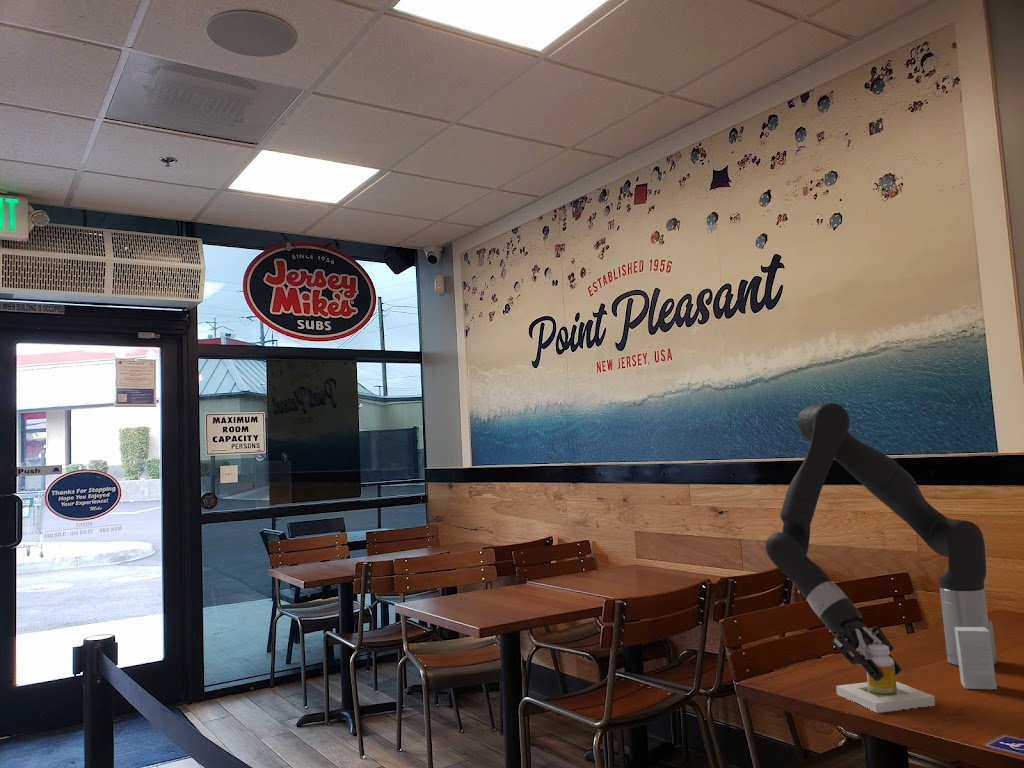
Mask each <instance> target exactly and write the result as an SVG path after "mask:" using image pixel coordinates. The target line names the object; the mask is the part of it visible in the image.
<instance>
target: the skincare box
mask: <svg viewBox="0 0 1024 768" xmlns="http://www.w3.org/2000/svg"><path fill="white" fill-rule="evenodd" d="M954 629H955V637H956V645H957V653H958V662H959V665H958V668H959V676H960V677H959V678H960V683H961V685H962V686H963V688H964V689H966V690H993V689H995V690H998V687H997V679H996V672H995V664H994V662H993V654H992V646H991V639H990V631H988V630H987V629H986V628H985V627H954ZM995 690H994V691H995Z"/></svg>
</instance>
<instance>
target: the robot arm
mask: <svg viewBox="0 0 1024 768" xmlns="http://www.w3.org/2000/svg"><path fill="white" fill-rule="evenodd" d="M850 422H851V421H850V416H849V413H848V411H847V410H846V409H845V407H843V406H842V405H840V404H839V403H835V402H827V403H826V402H824V403H818V404H812V405H809V406H807V407H804V409H802V410H801V411H800V413H799V414H798V417H797V425H798V426H797V427H798V429H799V431H800V433H801V434H802V436H803V437H804V438H805V439H806V440H807V441H809V442H810V444H809V448H808V451H807V454H806V456H805V458H804V460H803V462H802V463H801V465H800V467H799V469H798V470H797V472H796V473H795V475H794V477H793V478H792V480H791V481H790V484H789V486H788V488H787V491H786V493H785V496H784V497H785V498H784V500H783V504H782V506H781V507H782V508H781V511H780V519H781V521H782V523H783V526H782V532H775V533H772V534H771V535H770V536H768V538H767V540H766V542H765V550H766V551H765V552H766V554H767V557H768V558H769V559H770V561H771V562H772V563H773V564H774V565H775V566H776V567H777V568H778V569H779V570H780V571H781V572H782V573H783V574H784V575H785V577H787V578H788V579H789V580H790V581H791V582H792V583H793V584H794V586H795V587H796V589H797V590H798V591H799V592H800V594H801V595H802V596H803V598H804V599H805V600H806V601H807V602H808V604H809V607H810V608H811V609H812V611H813V612H814V613H815V615H817V617H818V618H819V619H820V620H821V622H822V623H823V624H824V626H825V627H826V628H827V629H828V631H829V632H830V634H832V636H835V638H834V639H832V641H831V644H832V645H833V647H834V648H836V649H837V650H838V652H840V654H842V656H844V658H845V659H846V660H847V661H848V662H849V663H851V665H853V666H855V665H858V666H860V667H863V669H864V670H865V672H866V671H867V672H868V673H869V675H870V676H871V677H872V678H873V679H874V680H875V681H879V680H880V679H881V678H882V677H883V676H884V675H883V673H882V671H881V670H880V669H879V668H878V667H877V665H876V664H875V663H874V662H873V660H872V659H871V660H869V659H870V657H869V655H870V654H869V652H868V645H872V644H880V645H886V646H888V647H889V652H890V654H889V657H891V658H892V659H893V660H894V665H895V676H898V675H899V674H900V673H901V672H902V671H903V670H902V667H901V666H900V665H899V663H898V662H897V661H896V660H895V658H894V657H893V656H892V655H891V652H893V650H894V646H893V645H892V643H891V642H890V641H889V639H888V637H886V634H885V633H884V632H883V630H882V629H881V627H880V626H878V625H875V626H874V627H869V626H868V625H867V624H866V623H864V622H863V620H862V618H863V615H862V613H861V612H860V611H859V609H858V608H857V607H856V606H855V605H854V603H853V602H852V601H851V600H850V598H849V597H848V596H847V595H846V594H845V592H844V591H843V590H841V588H840V587H839V586H837V584H835V583H834V581H833V580H832V579H831V578H830V576H829V575H827V573H826V572H825V571H824V570H823V568H822V567H820V566H819V565H818V564H817V563H815V562H814V561H812V560H811V558H809V556H807V554H808V551H809V547H810V546H809V545H810V537H811V536H810V535H811V524H812V520H813V518H814V514H815V512H816V509H817V505H818V502H819V498H820V494H821V492H822V489H823V487H824V483H825V480H826V478H827V476H828V474H829V471H830V469H831V466H832V465H833V462H834V460H835V461H837V462H838V463H839V464H840V465H841V466H842V467H843V468H844V469H845V470H846V471H847V472H848V473H849V474H850V475H851V476H852V477H853V478H855V480H857V482H859V483H860V484H861V485H862V486H863V487H864V488H865V489H866V490H868V491H869V492H870V493H871V494H872V495H873V496H874V497H875V498H877V499H878V500H879V501H880V502H881V503H883V504H884V505H885V506H886V507H888V509H890V510H891V511H892V512H893V513H894V514H896V515H897V516H898V517H899V518H900V519H902V521H904V522H905V523H906V524H907V525H909V527H911V529H912V530H913V531H914V532H915V533H916V534H917V535H918V536H919V538H921V540H922V541H924V542H925V545H927V546H928V547H929V548H930V549H931V550H932V551H933V552H934V553H936V554H937V555H940V556H942V557H945V558H947V564H948V565H947V567H948V569H947V570H946V571H945V572H943V573H942V574H940V575H939V577H938V583H939V584H938V586H939V593H940V602H941V611H942V621H943V631H944V637H945V638H944V641H945V649H946V656H947V657H946V659H947V662H948V664H952V665H954V666H959V662H958V653H957V645H956V637H955V629H954V627H985V628H986V629H987V630H988V631H990V639H991V646H992V654H993V662H994V665H995V664H997V662H998V660H997V653H996V645H995V637H994V629H993V622H992V621H991V620H989V618H988V617H989V616H988V609H987V602H986V601H987V600H986V593H985V579H986V576H987V560H986V544H985V539H984V535H983V532H982V531H981V528H980V527H979V526H978V525H977V524H975V523H974V522H972V521H971V520H964V519H954V518H949V517H947V516H946V515H944V514H943V513H941V512H940V511H938V510H937V509H936V508H934V507H933V506H932V505H931V504H930V503H929V502H928V501H927V499H926V498H925V497H924V495H923V494H922V492H921V490H920V486H919V484H917V482H916V480H915V479H914V477H913V476H912V475H911V474H910V473H909V472H908V471H907V470H906V469H904V468H903V467H902V466H901V465H900V464H899V463H898V462H896V461H895V460H894V459H892V457H890V456H888V455H887V454H885V453H883V452H882V451H879V450H878V449H876V448H873V447H872V446H869V445H868V444H867V443H864V442H862V441H860V440H859V439H857V438H856V437H855V436H853V434H851V433H850V432H849V430H850V429H849V428H850ZM849 652H850V653H851V654H850V653H849ZM867 672H866V673H867Z"/></svg>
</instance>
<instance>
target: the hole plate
mask: <svg viewBox="0 0 1024 768" xmlns="http://www.w3.org/2000/svg"><path fill="white" fill-rule="evenodd" d="M896 686H897V695H896V696H888V697H880V698H879V697H877V696H875V695H873V694H870V693H869V692H868V684H867V681H865V682H857V683H848V684H842V685H841V684H839V685H835V688H836V695H837V696H840V697H841V698H843V697H844V699H845V698H846V699H845V700H848V701H850V700H851V701H850V702H852V701H853V702H852V703H854V702H856V703H858V704H860V705H862V706H861V707H863V706H864V707H863V708H865V707H866V708H865V709H867V708H868V709H867V710H869V709H870V711H871V712H873V711H874V712H873V713H875V712H876V714H881V713H887V712H888V713H889V712H897V711H904V710H903V709H905V710H911V709H910V708H913V709H918V707H921V708H926V707H928V706H929V707H934V706H936V701H935V696H934V695H932V694H929V693H927V692H925V691H922V690H919V689H916V688H914V687H911V686H909V685H906V684H904V683H901V682H899V681H896ZM856 703H855V704H856ZM858 704H857V705H858ZM860 705H859V706H860Z"/></svg>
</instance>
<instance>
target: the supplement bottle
mask: <svg viewBox="0 0 1024 768" xmlns="http://www.w3.org/2000/svg"><path fill="white" fill-rule="evenodd" d="M867 653H868V655H869V657H870V659H869V660H871V659H872V660H873V662H874V663H875V664H876V665H877V667H878V668H879V669H880V670H881V671H882V673H883V675H884V676H883V677H882V678H881V679H880V680H879V681H875V680H874V679H873V678H872V677H871V676H870V675H869V673H868V672H867V671H866V670H865V673H866V682H867V684H868V692H869V693H870V694H873V695H875V696H877V697H879V698H880V697H888V696H896V695H897V686H896V682H897V680H896V679H897V677H896V676H897V675H896V676H895V665H894V660H895V659H894V660H893V659H892V658H891V657H889V654H890V655H891V653H890V652H889V647H888V646H886V645H885V644H883V645H880V644H875V643H873V644H872V645H868V651H867Z"/></svg>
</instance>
